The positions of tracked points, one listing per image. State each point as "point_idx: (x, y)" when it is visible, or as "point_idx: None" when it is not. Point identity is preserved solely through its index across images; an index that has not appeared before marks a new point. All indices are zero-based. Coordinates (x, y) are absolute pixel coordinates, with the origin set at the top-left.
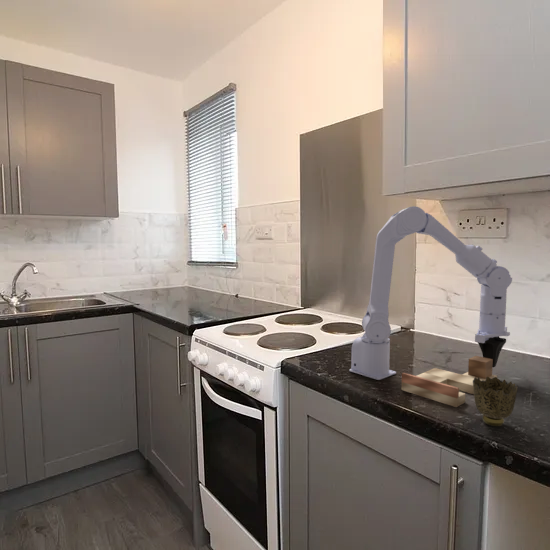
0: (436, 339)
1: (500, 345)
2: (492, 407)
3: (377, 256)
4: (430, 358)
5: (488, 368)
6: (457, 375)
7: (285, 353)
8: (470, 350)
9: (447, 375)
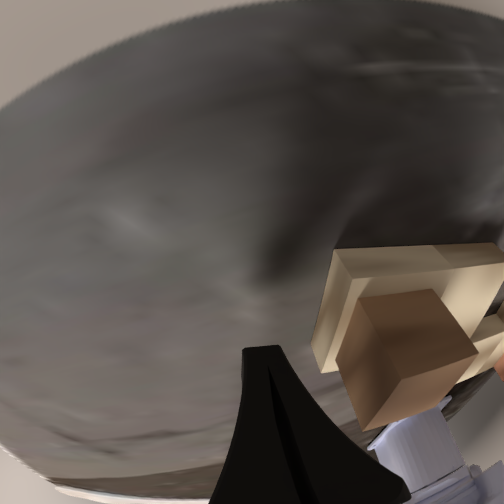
0: (36, 459)
1: (330, 491)
2: None
3: None
4: (193, 451)
5: (429, 328)
6: None
7: None
8: (10, 417)
9: None
